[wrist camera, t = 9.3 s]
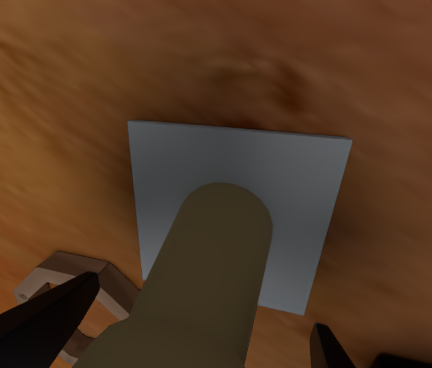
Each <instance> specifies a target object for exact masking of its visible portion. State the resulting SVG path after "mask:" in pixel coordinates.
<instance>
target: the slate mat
mask: <svg viewBox="0 0 432 368" xmlns="http://www.w3.org/2000/svg"><path fill="white" fill-rule="evenodd" d="M127 124H128V134H129V144H130V155H131V165H132V175H133V185H134V195H135V205H136V216H137V226H138V236H139V246H140V256H141V267H142V277H143V280H146V278H147V276H148V274H149V272H150V270H151V268H152V266H153V264H154V261H155V259H156V257H157V255H158V253H159V251H160V249H161V247H162V245H163V243H164V240H165V238H166V236H167V234H168V232H169V230H170V228H171V226H172V224H173V221H174V219H175V217H176V215H177V213H178V211H179V209H180V207H181V205H182V203H183V202H184V200H185V199H186V198H187V196H188V195H189V194H190V193H191V192H193V191H194V190H196V189H197V188H199V187H200V186H203V185H207V184H211V183H215V182H218V183H232V184H235V185H237V186H240V187H243V188H245V189H248V190H249V191H250V192H252V193H253V194H254V195H256V196H257V197H258V198H260V199H261V201H262V202H263V204H264V205H265V206H266V208H267V209H268V211H269V213H270V216H271V220H272V223H273V233H272V241H271V245H270V250H269V255H268V259H267V264H266V268H265V273H264V277H263V282H262V287H261V291H260V296H259V300H258V305H259V306H264V307H268V308H273V309H277V310H282V311H286V312H291V313H295V314H299V315H304V313H305V309H306V305H307V302H308V298H309V295H310V291H311V288H312V284H313V281H314V277H315V273H316V270H317V266H318V263H319V259H320V256H321V252H322V248H323V245H324V241H325V238H326V234H327V231H328V227H329V223H330V220H331V216H332V213H333V209H334V206H335V202H336V198H337V195H338V191H339V188H340V184H341V181H342V177H343V173H344V170H345V166H346V163H347V159H348V156H349V152H350V149H351V145H352V141H353V140H352V139H350V138H348V137H339V136H327V135H314V134H302V133H290V132H278V131H266V130H254V129H241V128H229V127H217V126H205V125H193V124H181V123H168V122H156V121H144V120H131V121H127Z"/></svg>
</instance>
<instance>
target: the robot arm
mask: <svg viewBox="0 0 432 368" xmlns="http://www.w3.org/2000/svg"><path fill="white" fill-rule="evenodd" d="M99 291H100V281H99V276H98V273H96V272H93V271H87V272H84V273H82V274H80V275H78V276H76V277H74V278H72V279H70V280H68V281H66V282H64V283H62V284H60V285H58V286H56V287H54V288H52V289H50V290H48V291H46V292H44V293H42V294H40V295H38V296H36V297H34V298H32V299H30V300H28V301H26V302H24V303H22V304H20V305H18V306H16V307H14V308H12V309H10V310H8V311H6V312H4V313H2V314H0V368H49V367H50V366H51V364H52V363H53V361H54V360H55V359H56V357H57V356H58V354H59V353H60V352H61V350H62V349H63V347H64V346H65V345H66V343H67V342H68V340H69V339H70V338H71V336H72V335H73V333H74V332H75V331H76V329H77V328H78V326H79V325H80V323H81V321H82V320H83V318H84V316H85V315H86V313H87V311H88V310H89V308H90V306H91V305H92V303H93V301H94V300H95V298H96V296H97V295H98V293H99ZM310 356H311V368H356V367H355V365H354V364H353V362H352V361H351V359H350V358H349V356H348V355H347V353H346V352H345V350H344V349H343V348H342V346H341V345H340V343H339V342H338V340H337V339H336V337H335V336H334V334H333V333H332V331H331V330H330V328H329V327H328V326H327V325H325V324H321V323H315V324H314V326H313V329H312V333H311V336H310ZM373 368H432V366H427V365H423V364H419V363H415V362H411V361H407V360H402V359H398V358H394V357H390V356H381V357H379V358H378V359H377V361H376V363H375V365H374V367H373Z"/></svg>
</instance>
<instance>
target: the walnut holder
mask: <svg viewBox="0 0 432 368" xmlns="http://www.w3.org/2000/svg"><path fill="white" fill-rule="evenodd" d="M87 271H93V272H96V273H98V276H99V281H100V291H99V293H98V295H97V296H96V299H97V300H98V301H99V302H100V303H102V304H103V305H104V306H105V307H106V308H107V309H108V310H109V311H110V312H111V313H112V314H113V315H115V316H116V317H117V318H118V319H119V320H120V321H121V320H123V319H126V318H128V316H129V314H130V312H131V310H132V308H133V306H134V303H135V301H136V299H137V297H138V295H139V293H140V291H139V290H138V289H137V288H136V287H135V286H134V285H133V284H132V283H131V282H130V281H129V280H128V279H127V278H126V277H125V276H124V275H123V274H122V273H121V272H120V271H118V270H117V269H116V268H115V267H114V266H113V265H112V264H111V263H110V264H109V262H107V261H102V260H97V259H92V258H88V257H83V256H78V255H74V254H69V253H64V252H60V251H57V252H56V253H55V254H53V255H52V256H51V257H49V258H48V259H47V260H45V261H44V262H43V263H41V264H40V265H39V266H37V267H36V268H35V269H34V270H33V271H32V272H31V273H30V274H29V275H28V276H27V277H26V278H25V279H24V280H23V281H22V282H21V283H20V284H19V285H18V286H17V287H16V288H15V290H14V291H13V292H14V295H15V297H16V300H17V302H18V305H20V304H22V303H24V302H26V301H28V300H30V299H32V298H34V297H36V296H38V295H40V294H42V293H44V292H46V291H48V290H50V288H49V284H48V282H50V283H54V284H58V285H60V284H62V283H64V282H66V281H68V280H70V279H72V278H74V277H76V276H78V275H80V274H82V273H84V272H87ZM94 340H95V339H93V338H89V337H86V336H84V335H83V334H82V333H81V332H80V331H79V330H77V329H76V331H75V332H74V333H73V335H72V336H71V338H70V339H69V340H68V342H67V343H66V345H65V346H64V347H63V349H62V350H61V352H60V353H59V354H58V356H60V357H61V358H62V359H63V360H64V361H66V362H67V363H68V364H71V365H74V364H75V363H76V361H77V360H78V359H79V357H80V356H81V355H82V353H83V352H84V351H85V350H86V348H87V347H88V346H89V344H90V343H91V342H92V341H94Z"/></svg>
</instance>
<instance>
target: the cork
mask: <svg viewBox="0 0 432 368" xmlns="http://www.w3.org/2000/svg"><path fill="white" fill-rule="evenodd" d="M272 233H273V223H272V220H271V216H270V213H269V211H268V209H267V208H266V206H265V205H264V204H263V202H262V201H261V199H260V198H258V197H257V196H256V195H254V194H253V193H252V192H250V191H249V190H248V189H245V188H243V187H240V186H237V185H235V184H232V183H218V182H215V183H211V184H207V185H203V186H200V187H199V188H197V189H196V190H194V191H193V192H191V193H190V194H189V195H188V196H187V198H186V199H185V200H184V202H183V203H182V205H181V207H180V209H179V211H178V213H177V215H176V217H175V219H174V221H173V224H172V226H171V228H170V230H169V232H168V234H167V236H166V238H165V240H164V243H163V245H162V247H161V249H160V251H159V253H158V255H157V257H156V259H155V261H154V264H153V266H152V268H151V270H150V272H149V274H148V276H147V278H146V280H145V282H144V285H143V287H142V289H141V291H140V293H139V295H138V297H137V299H136V301H135V303H134V306H133V308H132V310H131V312H130V314H129V316H128V318H126V319H123V320H121V321H119V322H117V323H114V324H112V325H110V326H109V327H107V328H106V329H105V330H104V331H103V332H102V333H101V334H100V335H99V336H98V337H97V338H96V339H95V340H94V341H92V342H91V343H90V344H89V346H88V347H87V348H86V350H85V351H84V352H83V353H82V355H81V356H80V357H79V359H78V360H77V361H76V363H75V364H74V365H73V367H72V368H245V367H244V364H245V360H246V355H247V351H248V346H249V341H250V337H251V332H252V328H253V323H254V319H255V314H256V309H257V305H258V300H259V296H260V291H261V287H262V282H263V277H264V273H265V268H266V264H267V259H268V255H269V250H270V245H271V241H272Z"/></svg>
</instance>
